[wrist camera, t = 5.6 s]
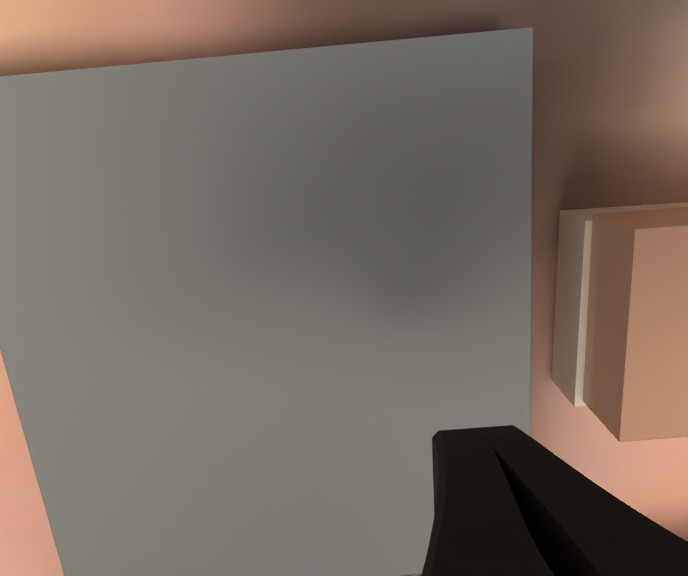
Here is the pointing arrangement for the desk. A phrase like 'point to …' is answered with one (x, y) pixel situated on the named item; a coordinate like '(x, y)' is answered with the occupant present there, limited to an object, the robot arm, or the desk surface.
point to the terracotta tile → (638, 324)
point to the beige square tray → (577, 295)
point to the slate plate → (264, 297)
